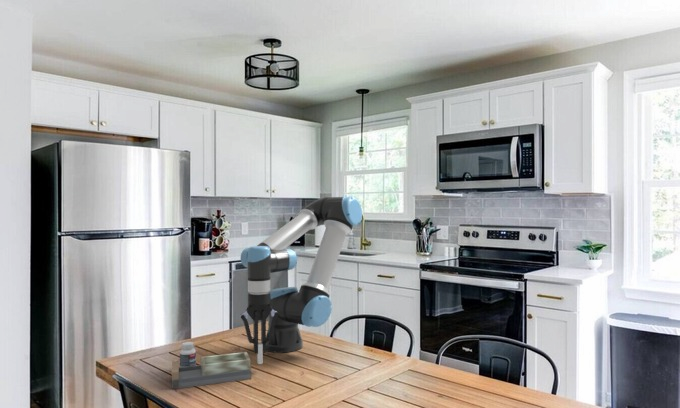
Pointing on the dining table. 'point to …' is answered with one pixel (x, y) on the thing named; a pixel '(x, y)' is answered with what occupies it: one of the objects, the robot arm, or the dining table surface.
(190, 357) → the pill bottle
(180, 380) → the rail board
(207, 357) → the caddy
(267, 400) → the dining table surface
